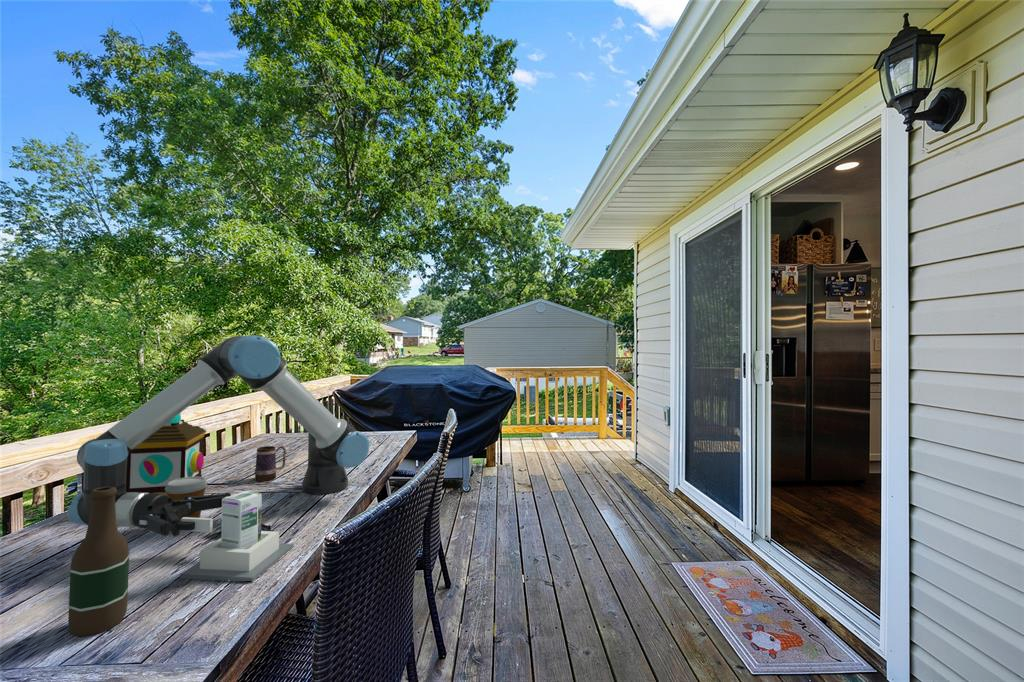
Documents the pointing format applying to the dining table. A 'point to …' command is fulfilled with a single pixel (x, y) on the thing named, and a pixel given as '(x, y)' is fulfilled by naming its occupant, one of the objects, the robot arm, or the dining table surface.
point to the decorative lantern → (165, 457)
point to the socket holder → (238, 560)
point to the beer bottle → (99, 570)
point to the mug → (267, 463)
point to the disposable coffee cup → (186, 490)
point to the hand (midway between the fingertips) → (232, 513)
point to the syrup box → (241, 520)
